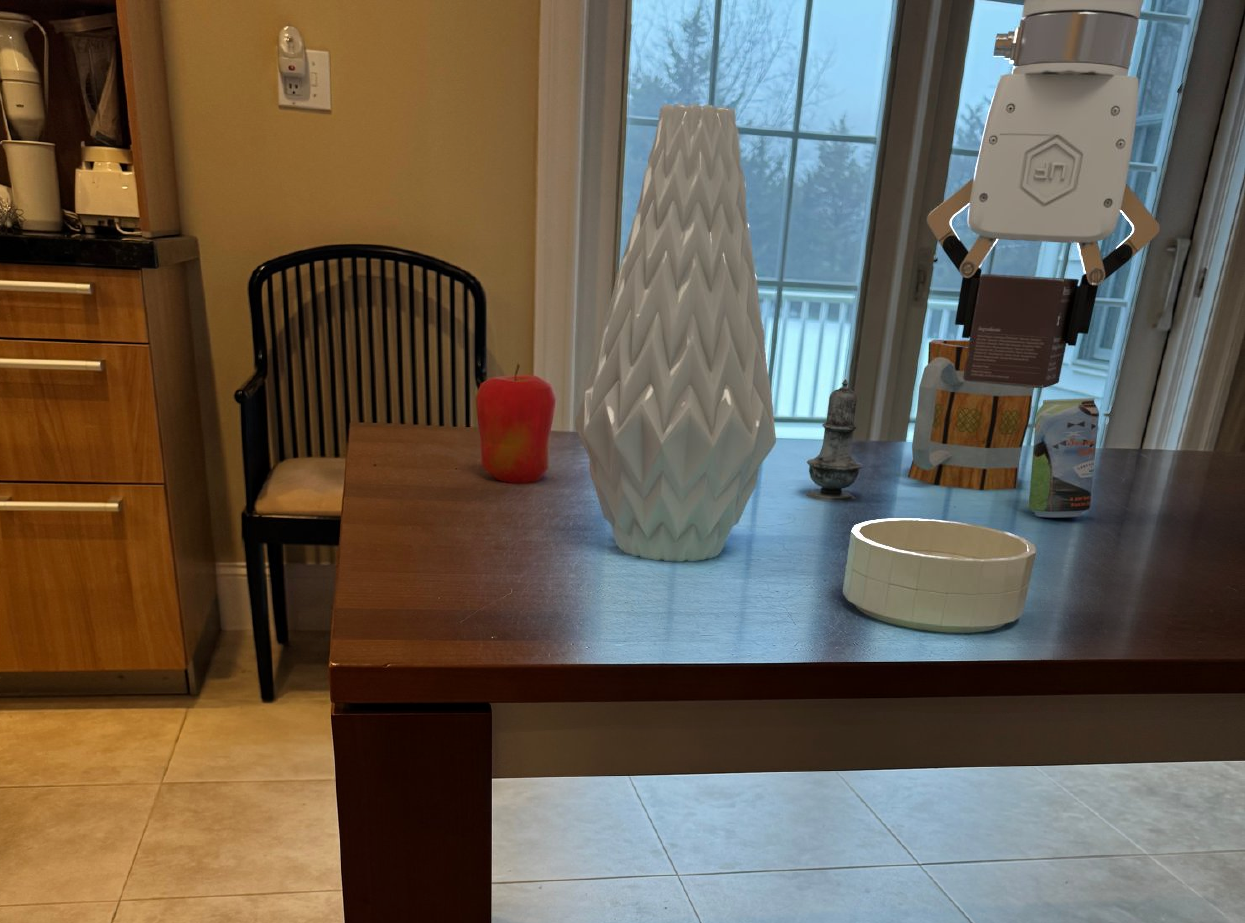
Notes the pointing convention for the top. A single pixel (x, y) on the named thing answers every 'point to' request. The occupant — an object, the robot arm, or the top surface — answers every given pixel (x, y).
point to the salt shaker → (836, 449)
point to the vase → (682, 353)
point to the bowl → (938, 574)
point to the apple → (515, 426)
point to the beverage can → (1063, 457)
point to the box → (1019, 330)
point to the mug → (967, 425)
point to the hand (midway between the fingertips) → (1018, 338)
